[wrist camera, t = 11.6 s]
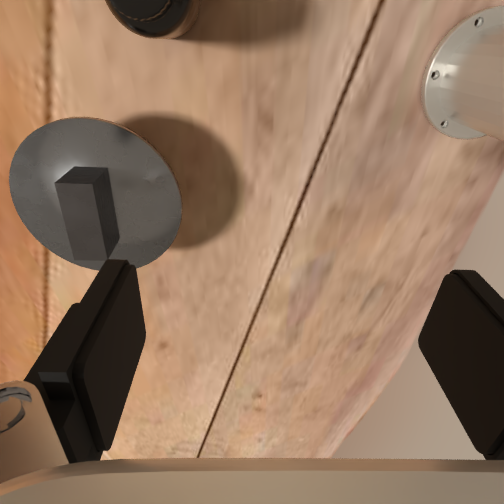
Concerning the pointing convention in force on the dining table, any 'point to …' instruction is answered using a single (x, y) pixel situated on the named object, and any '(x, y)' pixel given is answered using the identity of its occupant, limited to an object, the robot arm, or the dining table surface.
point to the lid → (95, 192)
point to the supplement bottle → (156, 16)
